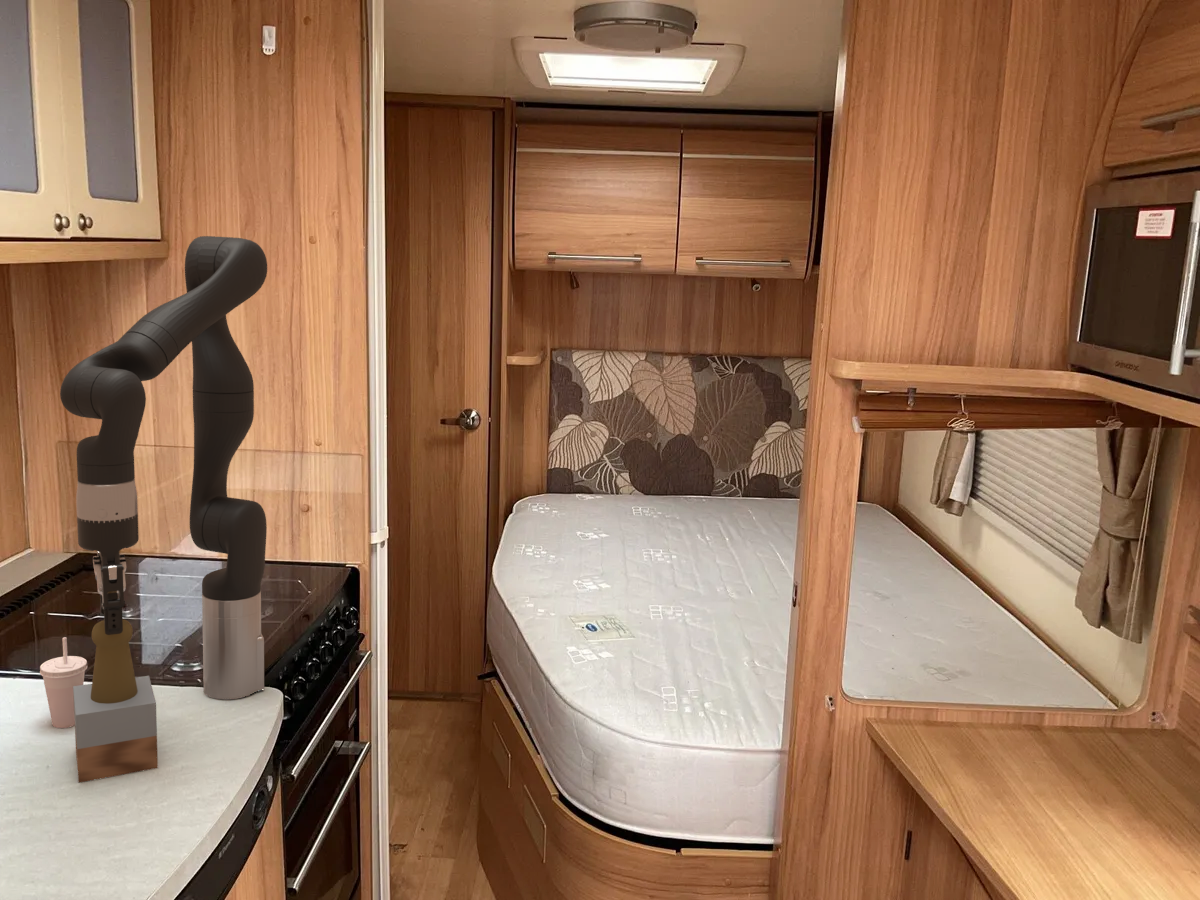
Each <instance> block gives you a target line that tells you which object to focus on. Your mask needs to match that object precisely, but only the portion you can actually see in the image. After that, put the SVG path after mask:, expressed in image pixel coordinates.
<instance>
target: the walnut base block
mask: <svg viewBox="0 0 1200 900" xmlns="http://www.w3.org/2000/svg"><path fill="white" fill-rule="evenodd" d="M74 734H75V735H74V738H75V756H76V769H77V779H78V784H79V783H85V782H90V780H91V781H95V780H94V779H96V780H101V779H106V778H105V777H107V778H111V777H117V776H122V774H123V775H128V774H132V773H134V774H135V773H137V772H143V770H144V771H148V770H154V769H159V765H158V764H159V762H158V735H157V736H152V737H146V738H140V739H134V740H128V741H122V742H116V743H111V744H105V745H99V746H93V747H87V748H81V749H77V741H76V730H75V729H74ZM100 778H101V779H100Z"/></svg>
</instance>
